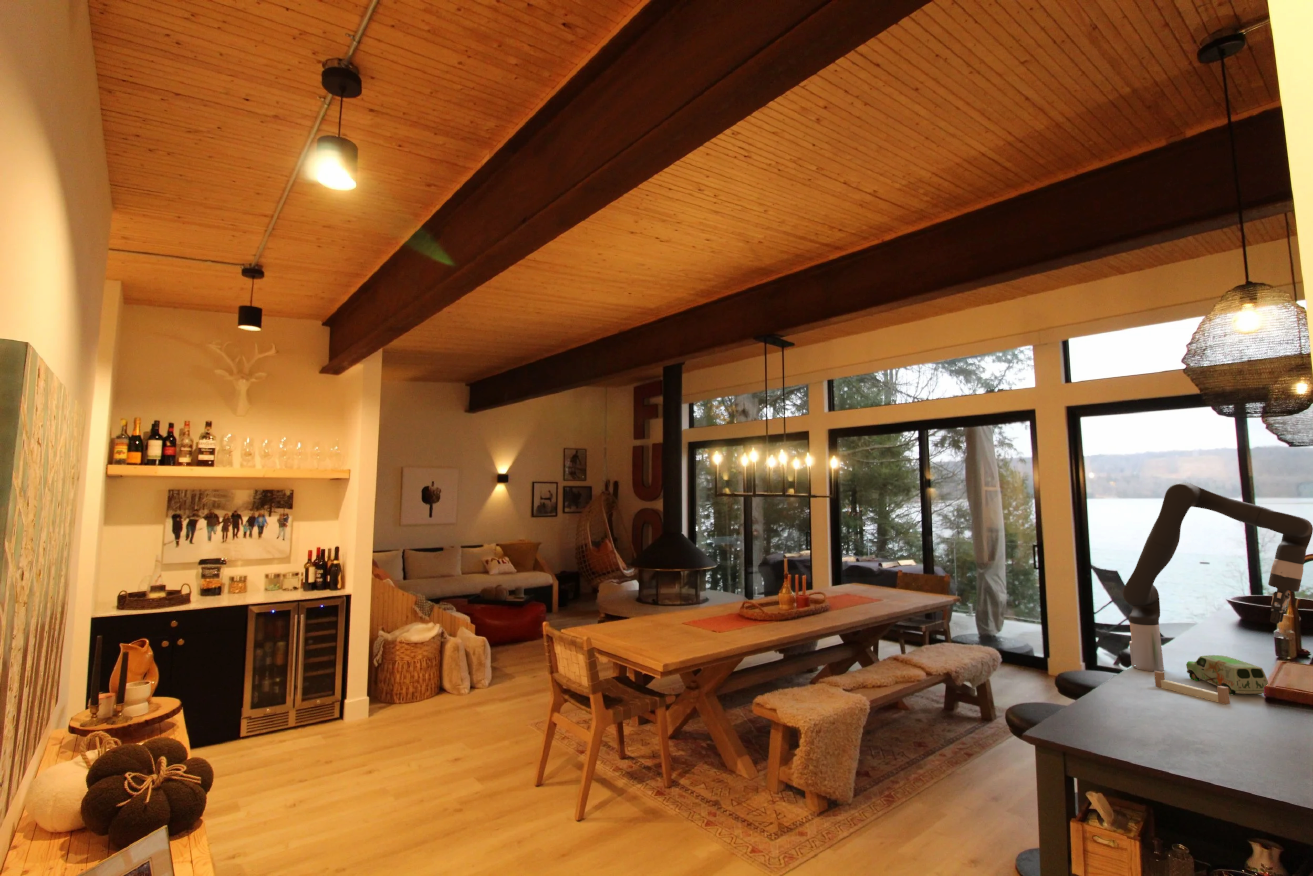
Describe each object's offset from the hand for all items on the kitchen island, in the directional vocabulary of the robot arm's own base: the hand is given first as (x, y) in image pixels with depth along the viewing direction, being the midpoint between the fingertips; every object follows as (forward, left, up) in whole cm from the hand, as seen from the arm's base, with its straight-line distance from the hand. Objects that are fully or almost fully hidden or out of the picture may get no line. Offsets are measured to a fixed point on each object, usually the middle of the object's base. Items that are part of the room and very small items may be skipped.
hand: (1275, 622), depth 215 cm
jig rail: (-12, -26, -24) cm, 37 cm away
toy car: (-13, -7, -24) cm, 28 cm away
